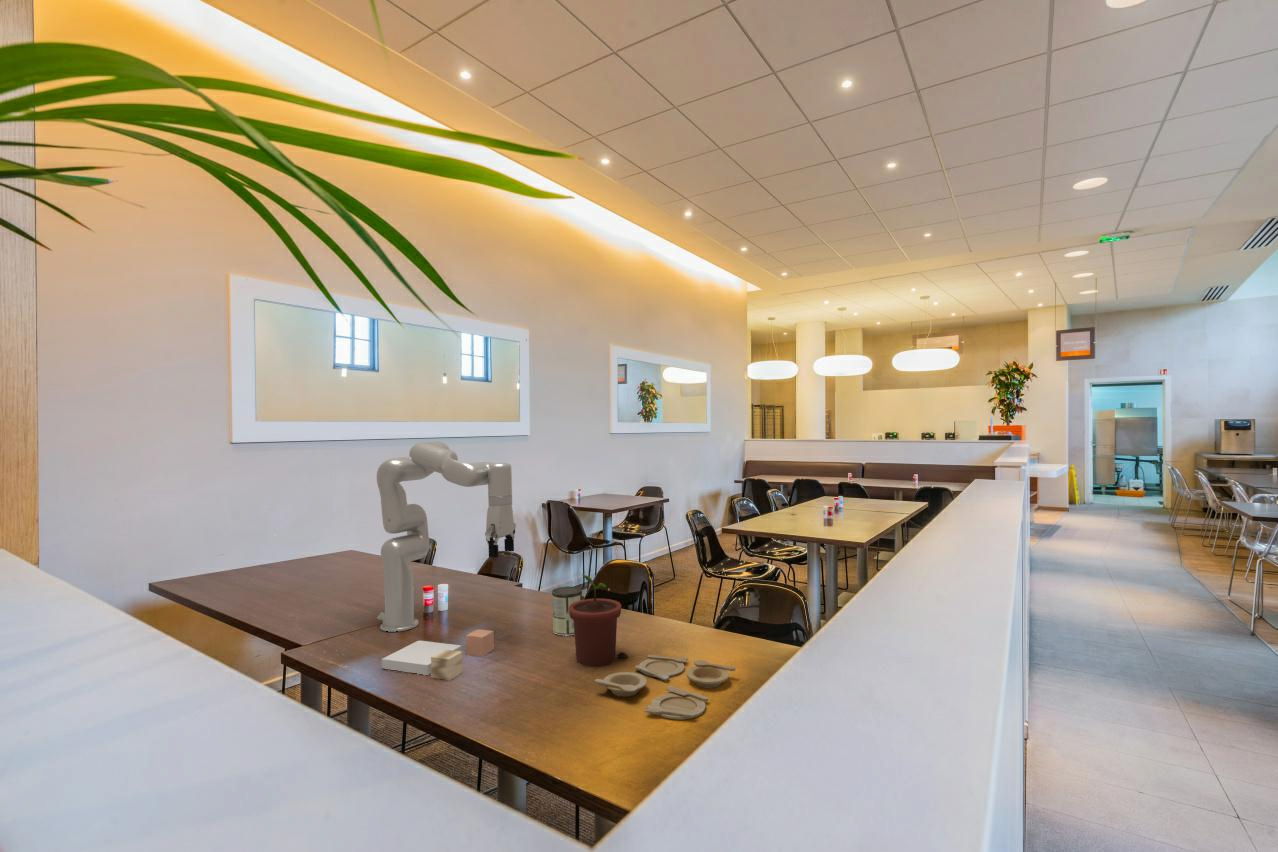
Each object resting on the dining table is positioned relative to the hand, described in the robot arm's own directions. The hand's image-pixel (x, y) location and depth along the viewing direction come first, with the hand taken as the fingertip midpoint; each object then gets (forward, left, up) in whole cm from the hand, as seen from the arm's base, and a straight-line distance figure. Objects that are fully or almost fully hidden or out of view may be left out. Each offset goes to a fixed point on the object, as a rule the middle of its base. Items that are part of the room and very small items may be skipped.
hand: (501, 554), depth 195 cm
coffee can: (+15, +17, -29) cm, 37 cm away
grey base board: (-15, -20, -29) cm, 38 cm away
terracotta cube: (-3, -8, -29) cm, 30 cm away
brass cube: (-2, -26, -29) cm, 39 cm away
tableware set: (+60, -16, -30) cm, 69 cm away
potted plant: (+34, 0, -29) cm, 45 cm away
